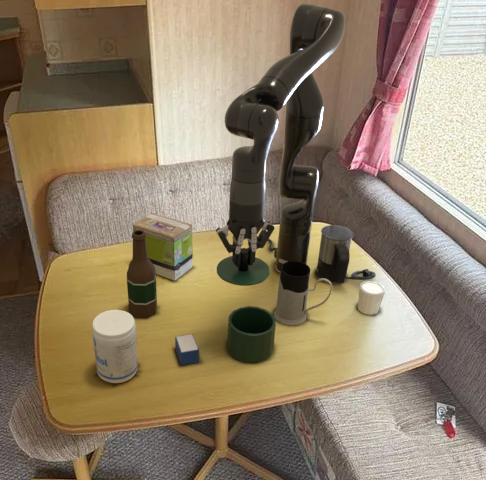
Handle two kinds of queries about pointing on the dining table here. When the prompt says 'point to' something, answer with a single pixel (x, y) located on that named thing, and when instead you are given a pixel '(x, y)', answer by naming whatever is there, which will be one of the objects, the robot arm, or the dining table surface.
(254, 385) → the dining table surface
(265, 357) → the pot
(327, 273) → the milk frother
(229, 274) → the lid
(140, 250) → the beer bottle
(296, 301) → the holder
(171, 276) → the tea box
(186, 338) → the cream cheese
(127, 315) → the supplement tub
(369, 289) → the white ribbed cup
